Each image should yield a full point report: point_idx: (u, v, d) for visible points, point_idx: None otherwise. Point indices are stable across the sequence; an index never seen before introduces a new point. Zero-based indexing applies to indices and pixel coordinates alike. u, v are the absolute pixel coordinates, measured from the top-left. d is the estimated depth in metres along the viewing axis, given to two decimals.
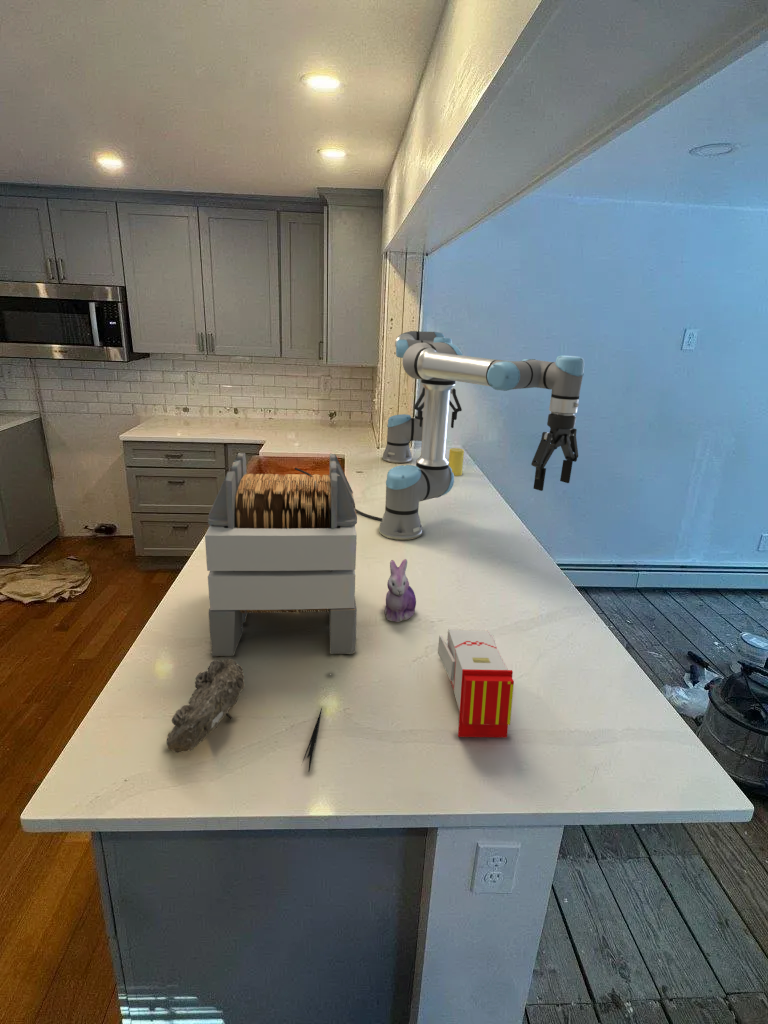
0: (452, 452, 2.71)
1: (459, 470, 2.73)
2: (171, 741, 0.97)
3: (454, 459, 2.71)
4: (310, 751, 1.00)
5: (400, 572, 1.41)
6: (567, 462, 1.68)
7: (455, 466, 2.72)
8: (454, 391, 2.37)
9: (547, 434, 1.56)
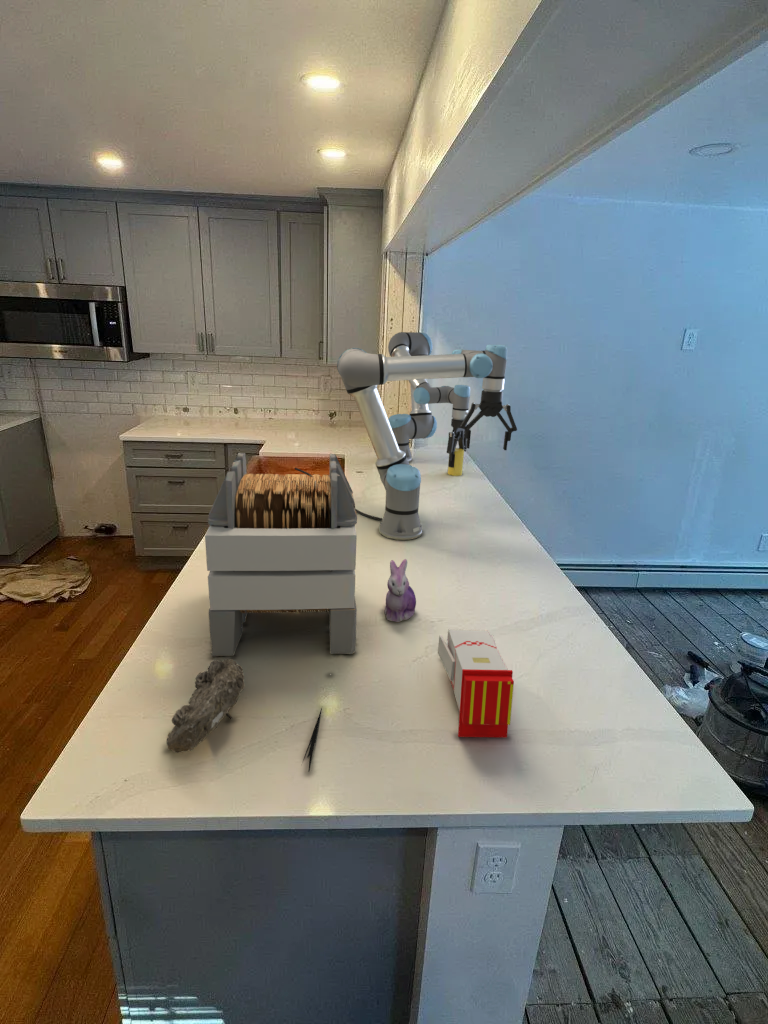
0: None
1: (459, 470, 2.73)
2: (171, 741, 0.97)
3: None
4: (310, 751, 1.00)
5: (400, 572, 1.41)
6: None
7: (455, 466, 2.72)
8: None
9: (509, 405, 2.04)
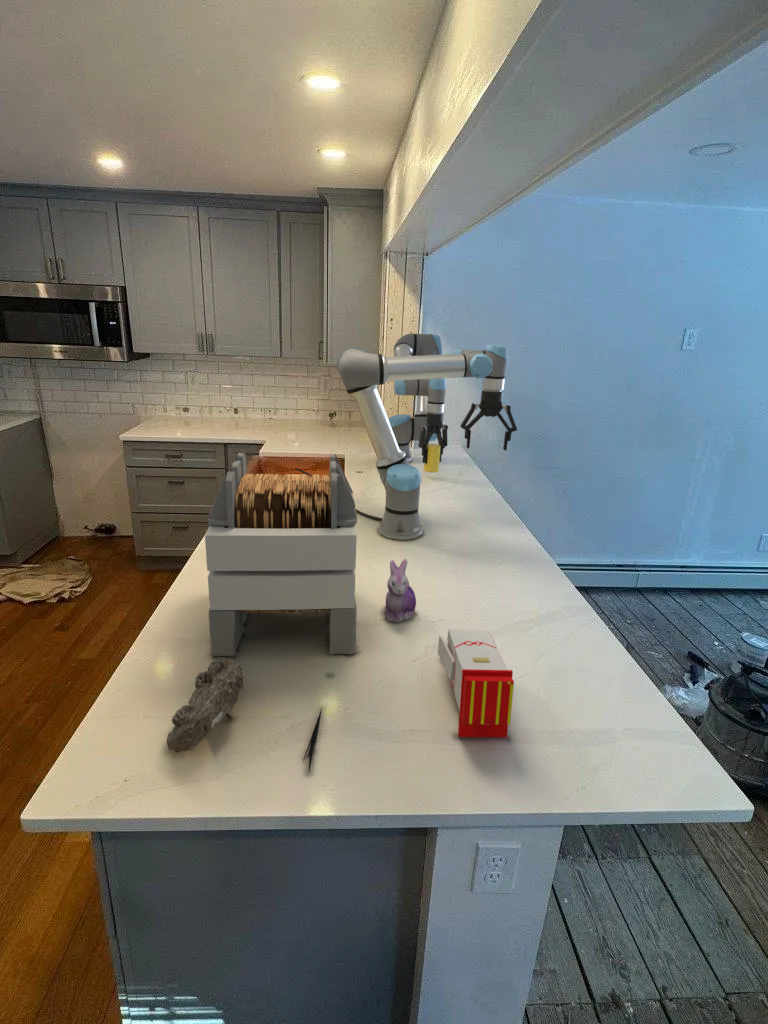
0: None
1: (433, 466, 2.61)
2: (171, 741, 0.97)
3: None
4: (310, 751, 1.00)
5: (400, 572, 1.41)
6: None
7: (428, 462, 2.61)
8: (447, 427, 2.60)
9: (509, 405, 2.04)
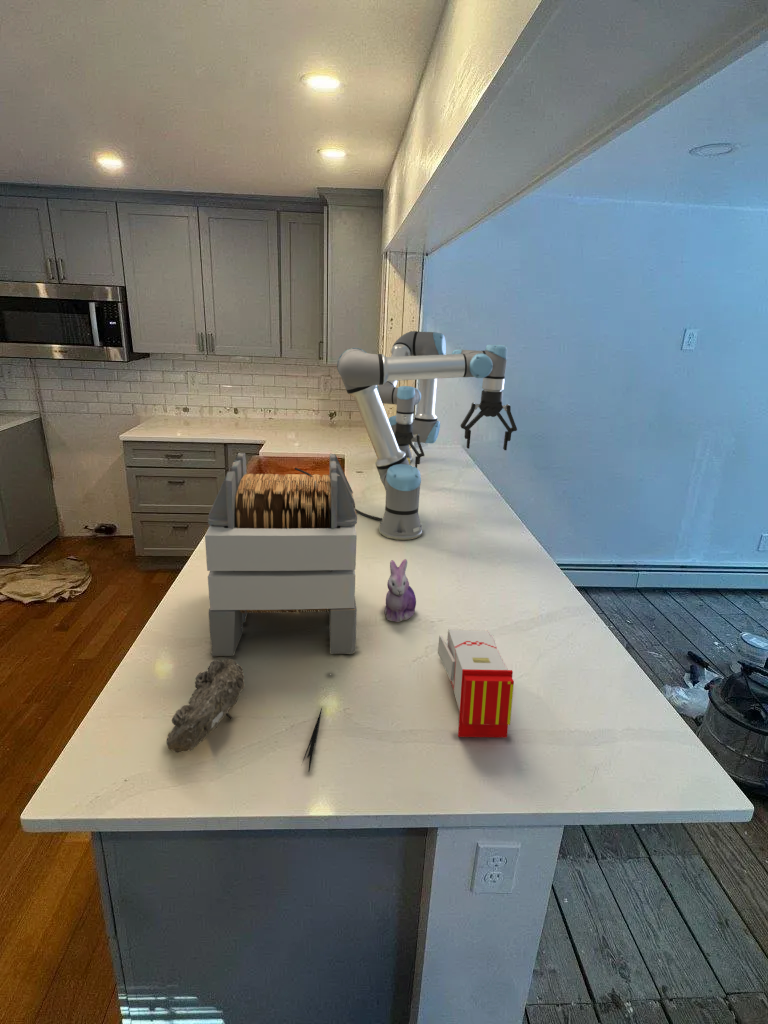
0: None
1: None
2: (171, 741, 0.97)
3: None
4: (310, 751, 1.00)
5: (400, 572, 1.41)
6: None
7: None
8: (418, 437, 2.47)
9: (509, 405, 2.04)
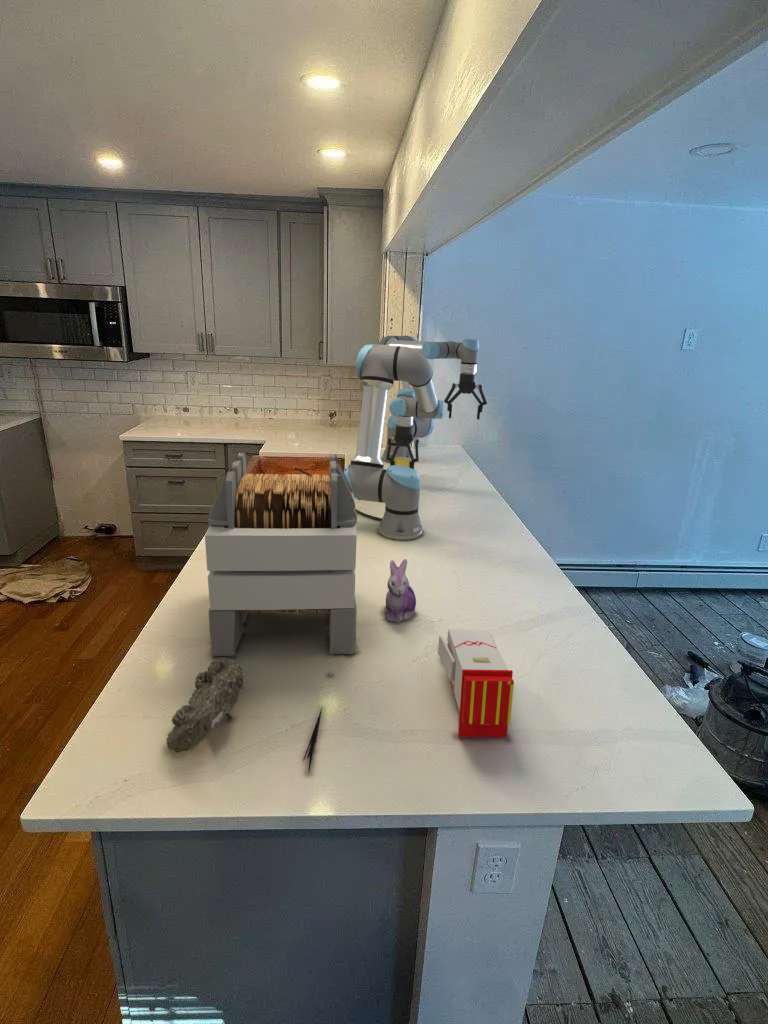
0: None
1: None
2: (171, 741, 0.97)
3: None
4: (310, 751, 1.00)
5: (400, 572, 1.41)
6: None
7: None
8: (480, 387, 2.66)
9: (418, 440, 2.49)
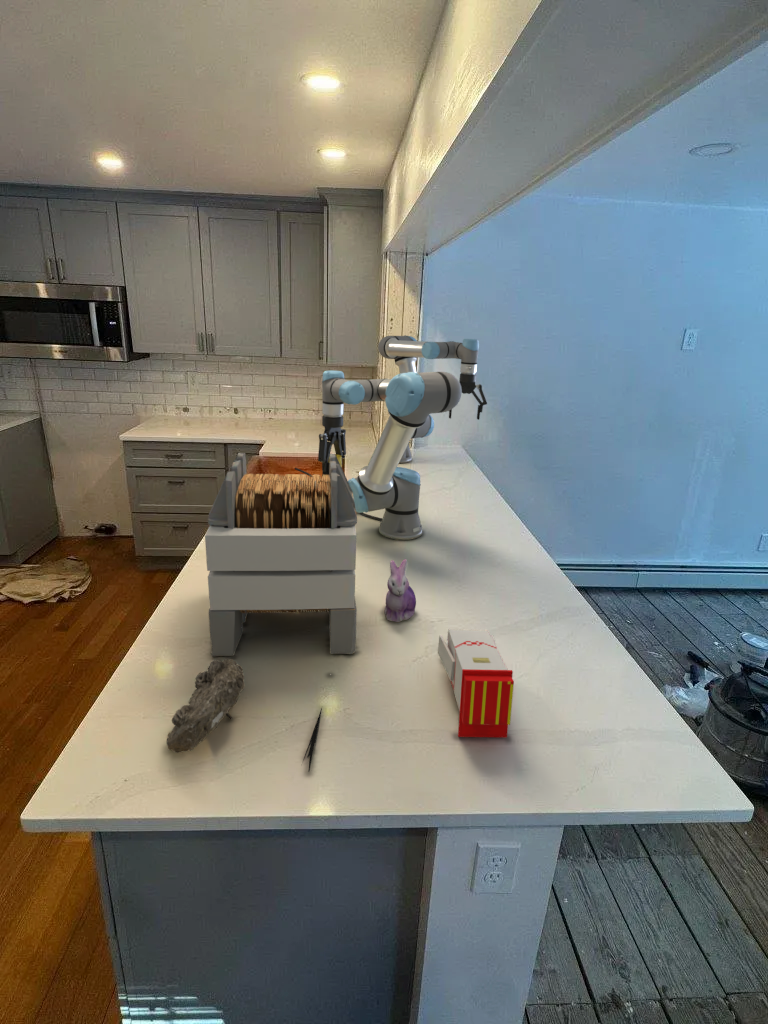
0: None
1: None
2: (171, 741, 0.97)
3: None
4: (310, 751, 1.00)
5: (400, 572, 1.41)
6: None
7: None
8: (480, 387, 2.66)
9: None
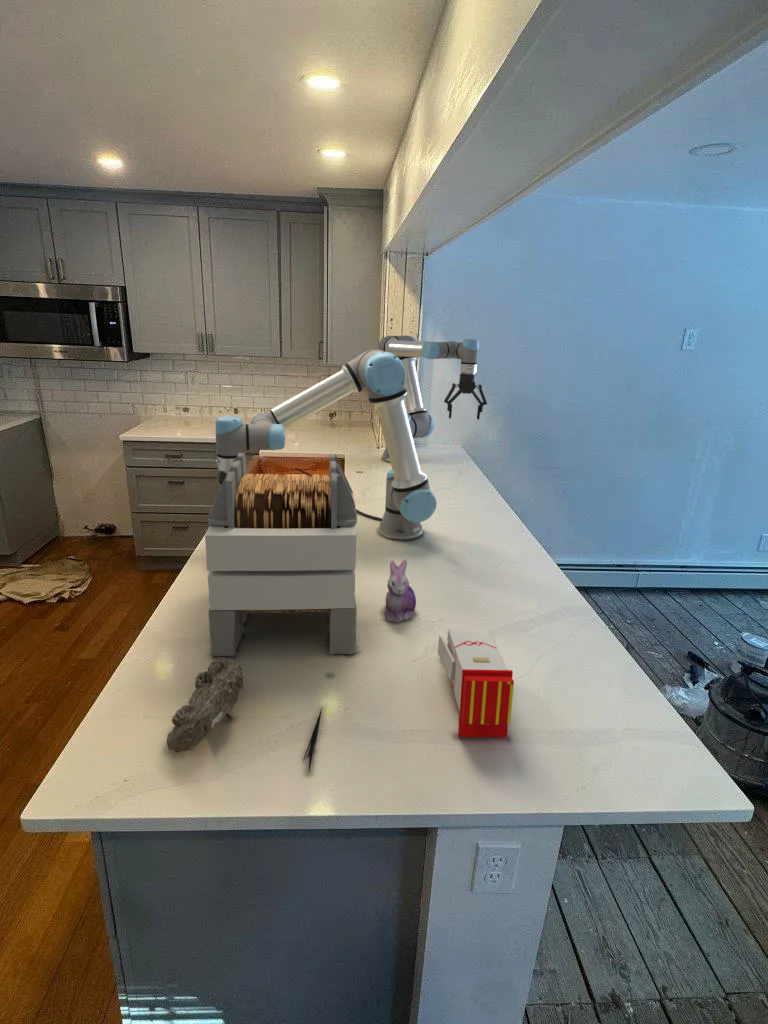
0: None
1: None
2: (171, 741, 0.97)
3: None
4: (310, 751, 1.00)
5: (400, 572, 1.41)
6: None
7: None
8: (480, 387, 2.66)
9: None
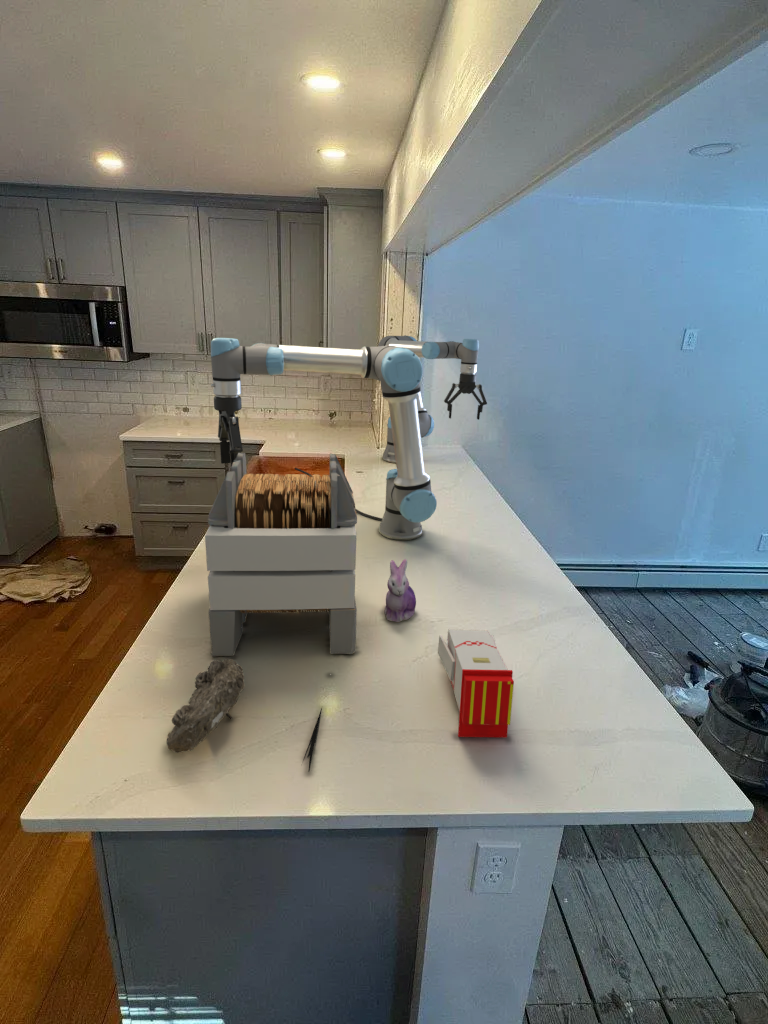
0: None
1: None
2: (171, 741, 0.97)
3: None
4: (310, 751, 1.00)
5: (400, 572, 1.41)
6: None
7: None
8: (480, 387, 2.66)
9: None
